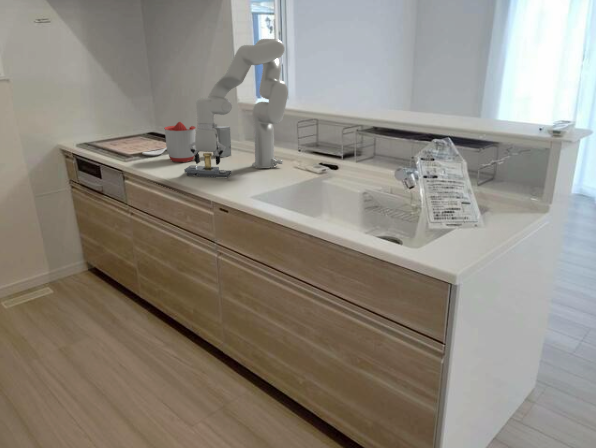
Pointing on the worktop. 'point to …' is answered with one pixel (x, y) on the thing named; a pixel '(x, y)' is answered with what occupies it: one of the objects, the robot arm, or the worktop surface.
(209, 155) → the brass pin
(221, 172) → the lower link
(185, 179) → the worktop surface
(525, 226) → the worktop surface
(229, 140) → the skincare box
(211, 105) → the robot arm
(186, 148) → the citrus juicer
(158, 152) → the spoon
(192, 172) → the upper link
